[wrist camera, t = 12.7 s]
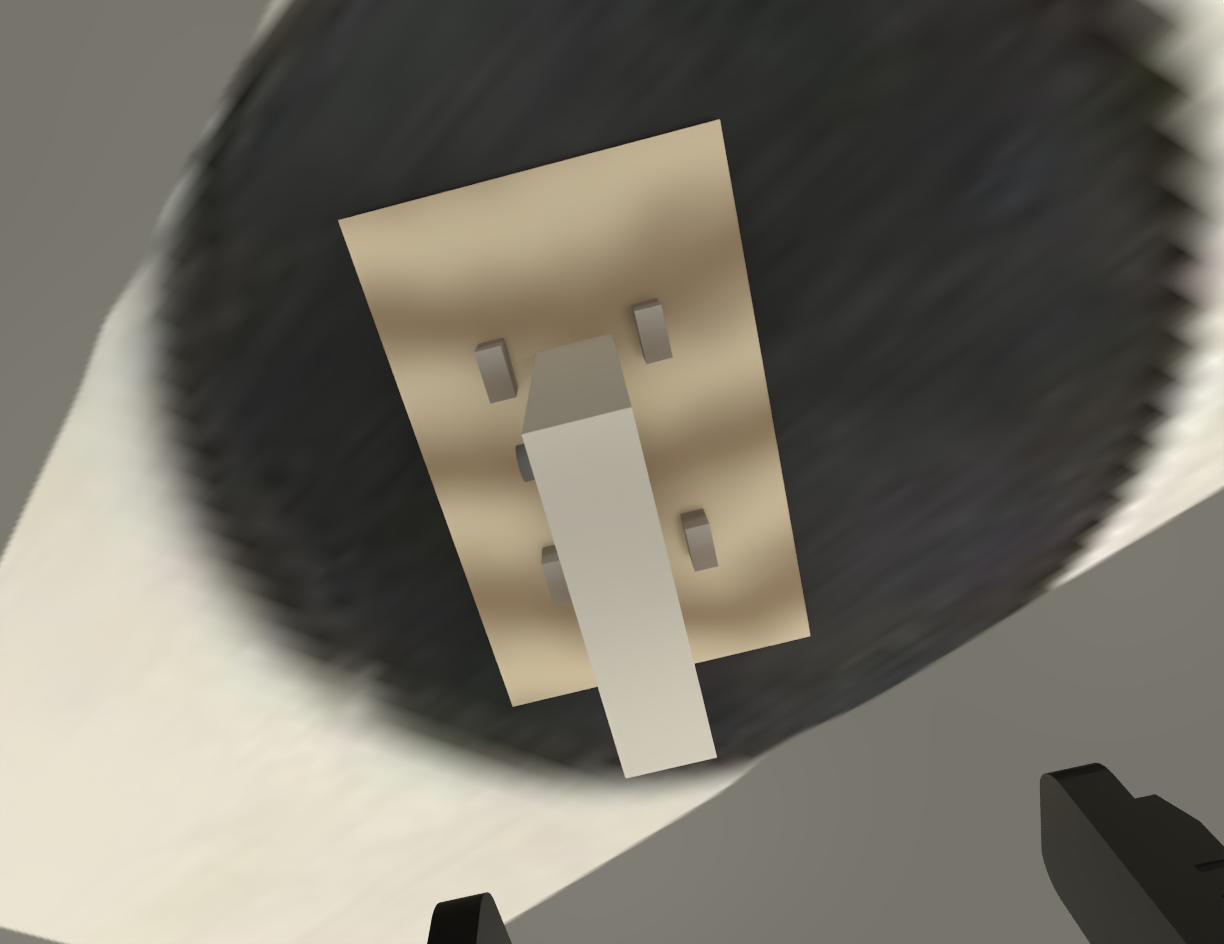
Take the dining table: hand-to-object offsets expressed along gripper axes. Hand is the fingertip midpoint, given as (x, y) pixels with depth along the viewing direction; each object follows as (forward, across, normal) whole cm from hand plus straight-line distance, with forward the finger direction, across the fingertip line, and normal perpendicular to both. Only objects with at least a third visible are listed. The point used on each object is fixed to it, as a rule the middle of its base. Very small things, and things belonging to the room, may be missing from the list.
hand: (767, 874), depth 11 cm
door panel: (+21, +2, +2) cm, 22 cm away
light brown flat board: (+22, +2, +1) cm, 22 cm away
